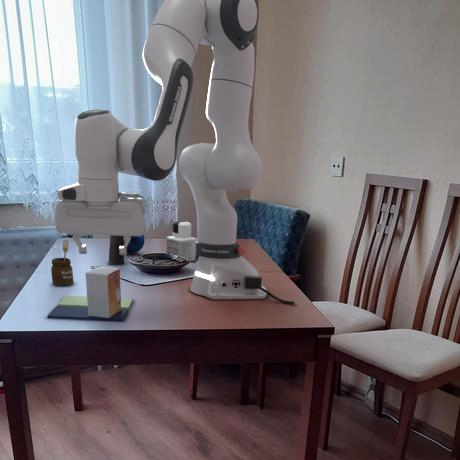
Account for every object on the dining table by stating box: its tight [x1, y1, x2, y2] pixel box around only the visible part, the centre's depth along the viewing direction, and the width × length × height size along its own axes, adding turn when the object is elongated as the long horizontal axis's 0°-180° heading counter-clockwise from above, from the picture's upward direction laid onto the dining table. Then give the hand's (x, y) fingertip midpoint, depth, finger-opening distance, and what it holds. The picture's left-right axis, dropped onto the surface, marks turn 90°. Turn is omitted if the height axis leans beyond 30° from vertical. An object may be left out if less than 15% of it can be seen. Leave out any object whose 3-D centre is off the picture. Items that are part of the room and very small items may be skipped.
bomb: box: [124, 234, 146, 254], centre depth 199 cm, size 10×11×15 cm
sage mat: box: [57, 295, 134, 311], centre depth 145 cm, size 18×8×1 cm, turn 91°
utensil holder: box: [50, 239, 74, 287], centre depth 158 cm, size 6×6×12 cm
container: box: [166, 220, 197, 262], centre depth 195 cm, size 8×8×13 cm
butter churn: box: [108, 235, 125, 266], centre depth 180 cm, size 9×10×28 cm
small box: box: [85, 265, 122, 318], centre depth 134 cm, size 8×6×10 cm
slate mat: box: [47, 305, 129, 322], centre depth 137 cm, size 18×8×1 cm, turn 91°
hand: (103, 254), depth 130 cm, fingers open, 8 cm apart
